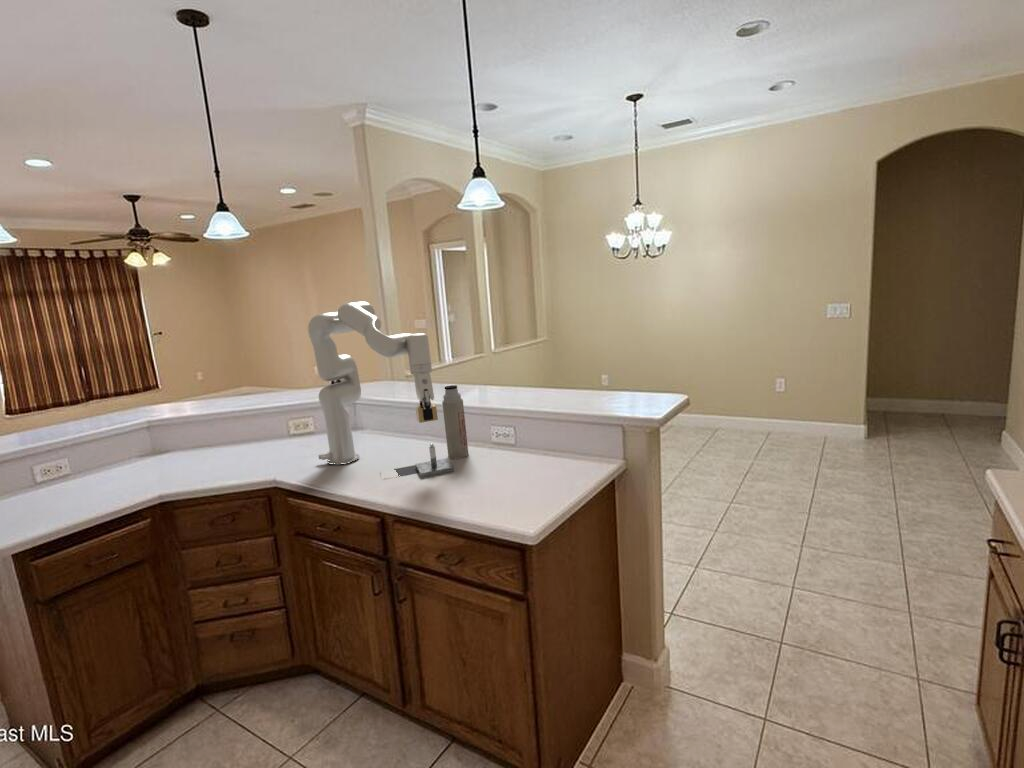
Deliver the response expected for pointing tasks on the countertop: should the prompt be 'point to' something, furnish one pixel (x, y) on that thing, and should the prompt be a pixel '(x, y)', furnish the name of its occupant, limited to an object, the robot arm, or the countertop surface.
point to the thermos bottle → (454, 423)
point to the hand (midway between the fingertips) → (426, 417)
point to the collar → (421, 417)
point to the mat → (406, 470)
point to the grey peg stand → (434, 465)
